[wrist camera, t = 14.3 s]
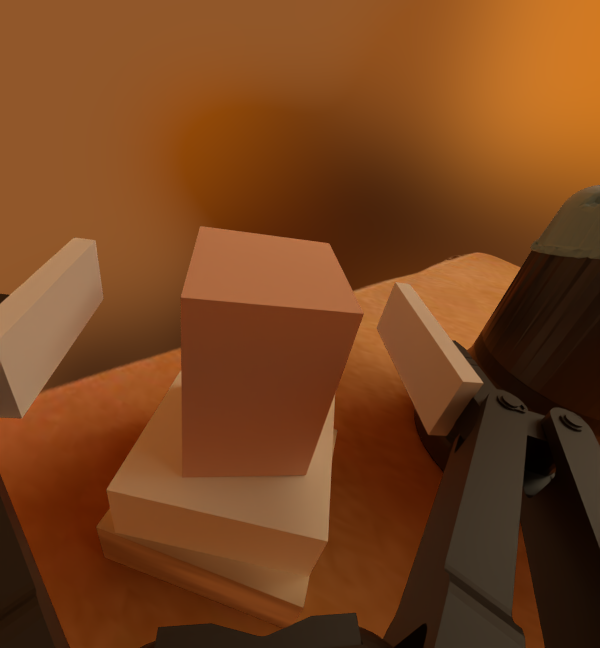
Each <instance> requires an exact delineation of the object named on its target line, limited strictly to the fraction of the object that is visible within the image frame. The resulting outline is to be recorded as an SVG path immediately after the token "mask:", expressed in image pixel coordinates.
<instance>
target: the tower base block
mask: <svg viewBox="0 0 600 648" xmlns="http://www.w3.org/2000/svg"><path fill="white" fill-rule="evenodd" d="M336 435H337V430H335V429H333V448H332V456H333V451H334V446H335V441H336ZM96 529H97V533H98V536H99V540H100V544H101V547H102V551H103V554H104V557H105V558H107V559H110V560H112V561H115V562H117V563H120V564H123V565H125V566H128V567H130V568H133V569H135V570H138V571H140V572H143V573H145V574H148V575H150V576H153V577H155V578H158V579H160V580H163V581H165V582H168V583H170V584H173V585H175V586H178V587H180V588H183V589H186V590H188V591H191V592H193V593H196V594H198V595H201V596H203V597H206V598H208V599H211V600H213V601H216V602H218V603H221V604H223V605H226V606H228V607H231V608H233V609H236V610H238V611H241V612H243V613H246V614H249V615H251V616H254V617H256V618H259V619H261V620H264V621H266V622H269V623H271V624H274V625H276V626H279V627H281V628H286V627H288V626H290V625H293V624H294V623H295V621H296V619H297V618H298V616H299V614H300V613H301V611H302V609H303V608H304V603H305V597H306V592H307V587H308V582H309V577H305V576H301V575H297V574H292V573H288V572H284V571H279V570H275V569H271V568H266V567H262V566H258V565H254V564H249V563H245V562H241V561H236V560H232V559H228V558H223V557H219V556H215V555H210V554H206V553H202V552H197V551H193V550H189V549H184V548H180V547H176V546H172V545H167V544H163V543H159V542H154V541H150V540H146V539H141V538H137V537H133V536H128V535H124V534H120V533H115V529H114V524H113V520H112V515H111V510H110V508H109V510H108V511H107V512H106V514H105V515H104V516H103V518H102V519H101V521H100V522H99V523H98V525H97V526H96ZM309 576H310V575H309Z"/></svg>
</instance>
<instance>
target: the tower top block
mask: <svg viewBox="0 0 600 648" xmlns="http://www.w3.org/2000/svg"><path fill="white" fill-rule="evenodd" d="M334 408H335V395H334V398H333V401H332V404H331V407H330V409H329V412H328V415H327V418H326V421H325V423H324V426H323V429H322V432H321V435H320V437H319V440H318V443H317V446H316V449H315V451H314V454H313V457H312V460H311V463H310V465H309V468H308V471H307V474H306V475H287V476H236V477H184V478H182V380H181V371H180V372H179V374H178V375H177V377H176V379H175V380H174V382H173V383H172V385H171V387H170V388H169V390H168V391H167V393H166V395H165V396H164V398H163V400H162V401H161V403H160V404H159V406H158V408H157V409H156V411H155V412H154V414H153V416H152V417H151V419H150V420H149V422H148V424H147V425H146V427H145V428H144V430H143V432H142V433H141V435H140V436H139V438H138V440H137V441H136V443H135V444H134V446H133V448H132V449H131V451H130V452H129V454H128V456H127V457H126V459H125V460H124V462H123V464H122V465H121V467H120V469H119V470H118V472H117V473H116V475H115V477H114V478H113V480H112V481H111V483H110V485H109V486H108V488H107V489H106V491H107V496H108V501H109V505H110V510H111V515H112V520H113V524H114V529H115V533H120V534H124V535H128V536H133V537H137V538H141V539H146V540H150V541H154V542H159V543H163V544H167V545H172V546H176V547H180V548H184V549H189V550H193V551H197V552H202V553H206V554H210V555H215V556H219V557H223V558H228V559H232V560H236V561H241V562H245V563H249V564H254V565H258V566H262V567H266V568H271V569H275V570H279V571H284V572H288V573H292V574H297V575H301V576H305V577H309V575H310V573H311V572H312V570H313V568H314V566H315V564H316V562H317V561H318V559H319V557H320V555H321V553H322V551H323V550H324V548H325V546H326V544H327V542H328V529H329V509H330V489H331V469H332V448H333V428H334Z"/></svg>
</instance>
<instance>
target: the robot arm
mask: <svg viewBox="0 0 600 648" xmlns="http://www.w3.org/2000/svg"><path fill="white" fill-rule="evenodd" d="M531 250H532V251H531V253H530V254H529V256H528V257H527V259H526V261H525V262H524V264H523V265H522V267H521V269H520V270H519V272H518V274H517V275H516V277H515V278H514V280H513V282H512V283H511V285H510V287H509V288H508V290H507V291H506V293H505V295H504V296H503V298H502V299H501V301H500V303H499V304H498V306H497V308H496V309H495V311H494V312H493V314H492V316H491V317H490V319H489V320H488V322H487V323H486V325H485V327H484V328H483V330H482V332H481V333H480V335H479V337H478V338H477V340H476V341H475V343H474V344H473V346H472V347H471V348H469V349H468V350H466V349H465V348H464V347H462V346H461V345H460V344H459V343H457V342H456V341H453V340H451V339H450V337H449V336H448V335H447V333H446V332H445V331H444V329H443V328H442V327H441V325H440V324H439V323H438V321H437V320H436V319H435V317H434V316H433V315H432V313H431V312H430V311H429V309H428V308H427V307H426V305H425V304H424V303H423V301H422V300H421V298H420V297H419V296H418V294H417V293H416V292H415V290H414V289H413V288H412V286H411V285H410V284H405V283H398V282H395V284H394V287H393V289H392V291H391V294H390V296H389V299H388V301H387V304H386V306H385V309H384V311H383V314H382V316H381V319H380V321H379V323H378V326H377V330H378V332H379V334H380V336H381V338H382V340H383V342H384V345H385V347H386V349H387V351H388V353H389V355H390V357H391V359H392V361H393V363H394V365H395V367H396V369H397V371H398V373H399V376H400V378H401V380H402V382H403V384H404V386H405V388H406V390H407V392H408V394H409V396H410V398H411V400H412V402H413V404H414V406H415V422H416V426H417V430H418V433H419V435H420V437H421V440H422V442H423V443H424V445H425V447H426V449H427V450H428V452H429V453H430V455H431V456H432V458H433V459H434V460H435V462H436V463H437V464H438V465H439V467H440V468H441V469H442V470H443V471H444V474H443V477H442V480H441V483H440V486H439V489H438V492H437V495H436V497H435V500H434V503H433V506H432V509H431V512H430V515H429V518H428V521H427V524H426V527H425V530H424V533H423V536H422V539H421V542H420V545H419V548H418V551H417V554H416V557H415V560H414V563H413V566H412V569H411V572H410V575H409V578H408V581H407V584H406V587H405V590H404V593H403V596H402V599H401V602H400V605H399V608H398V610H397V613H396V615H395V617H394V619H393V621H392V623H391V624H390V626H389V628H388V630H387V632H386V634H385V636H384V638H383V639H382V638H380V637H379V636H377V635H376V634H374V633H372V632H370V631H368V630H366V629H364V628H362V627H359V626H358V621H357V616H356V613H347V614H333V615H320V616H311V617H308V618H306V619H304V620H302V621H299V622H297V623H295V624H293V625H290V626H288V627H286V628H284V629H281V630H279V631H277V632H274V633H272V634H270V635H267V636H256V635H252V634H248V633H245V632H241V631H237V630H234V629H230V628H226V627H223V626H219V625H215V624H211V623H210V624H196V625H182V626H169V627H158V632H157V638H156V641H154V642H151V643H149V644H146V645H144V646H142V647H140V648H526V647H525V636H524V633H523V630H522V628H520V627H519V626H518V625H516V624H515V623H514V622H513V619H512V604H513V592H514V580H515V569H516V557H517V546H518V534H519V523H520V521H521V526H522V531H523V536H524V541H525V546H526V552H527V557H528V562H529V567H530V572H531V577H532V582H533V588H534V593H535V598H536V603H537V608H538V613H539V618H540V624H541V629H542V634H543V639H544V644H545V648H600V185H597V186H591V187H588V188H585V189H583V190H580V191H578V192H577V193H575V194H574V195H572V196H571V197H570V198H569V199H568V200H567V201H566V202H565V203H564V204H563V205H562V207H561V208H560V210H559V211H558V212H557V214H556V215H555V217H554V218H553V220H552V221H551V222H550V224H549V225H548V227H547V228H546V229H545V231H544V232H543V234H542V235H541V236H540V238H539V239H537V240H536V241H534V242H533V244H532V246H531ZM102 300H103V292H102V285H101V278H100V271H99V263H98V256H97V249H96V242H95V240H88V239H80V238H73V239H72V240H71V241H70V242H69V243H68V244H66V245H65V246H64V247H63V248H62V249H61V250H60V251H59V252H58V253H56V254H55V255H54V256H53V257H52V258H51V259H50V260H49V261H47V262H46V263H45V264H44V265H43V266H42V267H41V268H40V269H39V270H38V271H36V272H35V273H34V274H33V275H32V276H31V277H30V278H28V279H27V280H26V281H25V282H24V283H23V284H22V285H21V286H20V287H18V288H17V289H16V290H15V291H14V292H13V293H12V294H11V295H6V294H0V417H2V418H23V416H24V415H25V414H26V412H27V411H28V409H29V408H30V406H31V405H32V403H33V402H34V400H35V399H36V397H37V396H38V394H39V393H40V391H41V390H42V388H43V387H44V385H45V384H46V383H47V381H48V380H49V378H50V377H51V375H52V374H53V372H54V371H55V369H56V368H57V366H58V365H59V363H60V362H61V360H62V359H63V358H64V356H65V355H66V353H67V352H68V350H69V349H70V347H71V346H72V344H73V343H74V341H75V340H76V338H77V337H78V335H79V334H80V332H81V331H82V330H83V328H84V327H85V325H86V324H87V322H88V321H89V319H90V318H91V316H92V315H93V313H94V312H95V310H96V309H97V307H98V306H99V304H100V303H101V301H102ZM0 648H70V647H69V644H68V642H67V640H66V638H65V635H64V633H63V630H62V628H61V625H60V623H59V620H58V618H57V615H56V613H55V610H54V608H53V605H52V603H51V600H50V598H49V595H48V593H47V590H46V588H45V585H44V583H43V580H42V578H41V575H40V573H39V570H38V568H37V565H36V563H35V560H34V558H33V555H32V553H31V550H30V548H29V545H28V543H27V540H26V538H25V535H24V533H23V530H22V528H21V525H20V523H19V520H18V518H17V515H16V513H15V510H14V507H13V505H12V502H11V500H10V497H9V495H8V492H7V490H6V487H5V485H4V482H3V480H2V477H1V475H0Z"/></svg>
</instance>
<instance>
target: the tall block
mask: <svg viewBox="0 0 600 648" xmlns="http://www.w3.org/2000/svg"><path fill="white" fill-rule="evenodd" d="M363 314H364V313H363V311H362V309H361V307H360V305H359V303H358V301H357V299H356V297H355V295H354V293H353V291H352V289H351V287H350V285H349V283H348V281H347V279H346V277H345V275H344V273H343V271H342V269H341V267H340V265H339V262H338V260H337V258H336V257H335V254H334V252H333V250H332V248H331V246H330V244H329V243H322V242H315V241H307V240H300V239H292V238H285V237H277V236H270V235H262V234H255V233H247V232H240V231H232V230H225V229H217V228H210V227H202V226H201V227H200V230H199V234H198V237H197V241H196V244H195V248H194V251H193V255H192V259H191V262H190V266H189V270H188V273H187V277H186V280H185V284H184V288H183V291H182V295H181V380H182V478H184V477H236V476H287V475H306V474H307V471H308V468H309V465H310V463H311V460H312V457H313V454H314V451H315V449H316V446H317V443H318V440H319V437H320V435H321V432H322V429H323V426H324V423H325V421H326V418H327V415H328V412H329V409H330V407H331V404H332V401H333V398H334V395H335V393H336V390H337V387H338V384H339V381H340V379H341V376H342V373H343V370H344V368H345V365H346V362H347V359H348V356H349V354H350V351H351V348H352V345H353V342H354V340H355V337H356V334H357V331H358V328H359V326H360V323H361V320H362V317H363Z"/></svg>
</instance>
